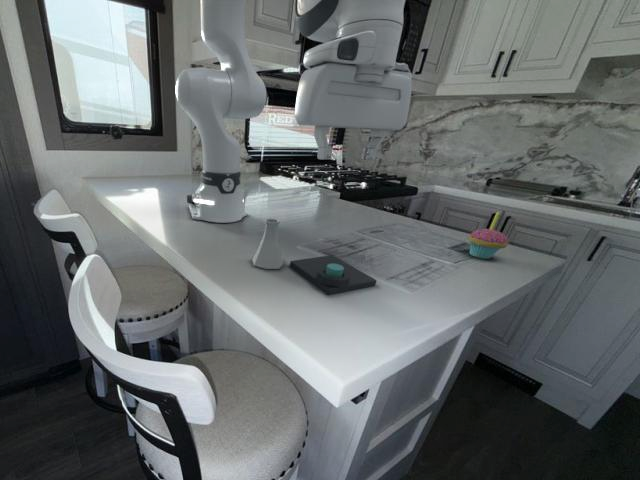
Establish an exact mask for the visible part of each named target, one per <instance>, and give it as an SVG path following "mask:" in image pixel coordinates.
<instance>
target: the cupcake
mask: <svg viewBox="0 0 640 480" xmlns="http://www.w3.org/2000/svg"><path fill="white" fill-rule="evenodd" d="M500 211H501V209H500V208H498V211H496V213H495V216H494V218H493V221H492V222H491V225H490V227H489V228H479V229H476V230H474V231H471V233H470V234H469V235H468V237H467V240H468V241H469V255H471V256H472V257H475V258H478V259H484V260H489V259H491V258H492V257H493V256H494V255H495V254H496V253H497V252H498V251H500V250H501V249H505V248H507V247H508V245H509V242H510V240H509V237H507V235H506V234H505V233H503V232H502V231H498V230H496V229H494V228H495V226H496V223H497V221H498V219H499V216H500V214H501V212H500Z"/></svg>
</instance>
